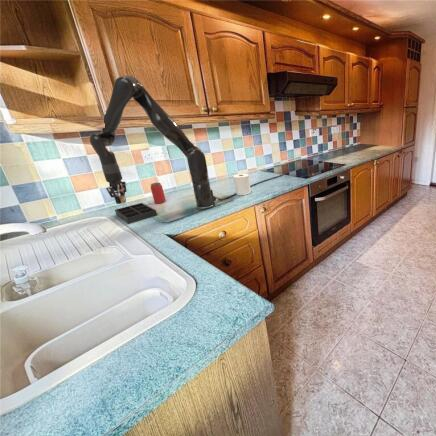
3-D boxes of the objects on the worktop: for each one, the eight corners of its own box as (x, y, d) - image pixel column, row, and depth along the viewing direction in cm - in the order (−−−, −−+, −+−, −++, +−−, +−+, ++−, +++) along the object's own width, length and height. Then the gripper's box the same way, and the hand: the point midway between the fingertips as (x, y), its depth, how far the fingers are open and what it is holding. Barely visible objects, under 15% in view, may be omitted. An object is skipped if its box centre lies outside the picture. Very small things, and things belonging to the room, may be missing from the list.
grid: (143, 207, 157) (141, 202, 155) (157, 215, 143) (155, 210, 142) (116, 214, 147) (114, 209, 146) (128, 223, 133) (126, 218, 132)
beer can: (160, 204, 161) (155, 185, 156) (152, 203, 162) (147, 185, 158) (168, 200, 166) (163, 182, 162) (159, 200, 168) (155, 182, 164)
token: (124, 200, 147) (122, 194, 146) (127, 202, 144) (125, 196, 143) (116, 202, 144) (114, 197, 143) (118, 204, 141) (116, 198, 140)
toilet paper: (251, 190, 179) (249, 173, 174) (250, 194, 169) (248, 176, 164) (236, 191, 178) (234, 174, 174) (234, 195, 169) (232, 177, 164)
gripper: (110, 174, 131) (121, 206, 138) (126, 168, 144) (135, 197, 151) (96, 175, 131) (106, 207, 137) (112, 169, 144) (122, 198, 151)
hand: (121, 202), depth 144 cm, fingers closed on token, 4 cm apart
